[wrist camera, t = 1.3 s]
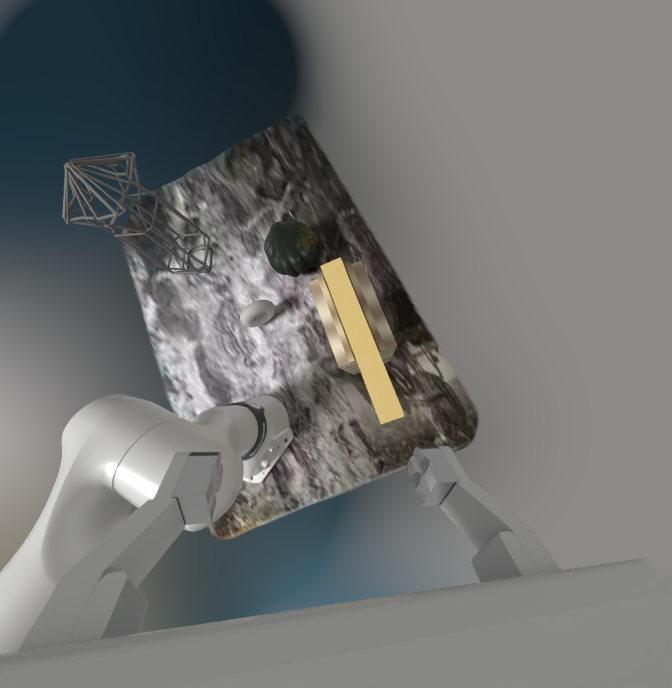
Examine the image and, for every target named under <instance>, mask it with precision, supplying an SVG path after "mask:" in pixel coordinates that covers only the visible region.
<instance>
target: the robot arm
mask: <svg viewBox="0 0 672 688" xmlns="http://www.w3.org/2000/svg"><path fill="white" fill-rule="evenodd" d="M293 438H294V434H293V431H292V429H291V428H290V425H289V418H288V413H287V411H286V408H285V407H284V405H283V404H282V403H281V402H280V401H279V400H278V399H276V398H275V397H272V396H269V395H260V396H257V397H254V398H252V399H251V400H249V401H246V402H237V403H232V404H228V405H226V406H222V407H214V408H209V409H207V410H205V411H203V412H202V413H200V414H199V415H198V416H197V417H196V418H195V419H194V420H193V421H192V422H191V421H188V420H186V419H184V418H181V417H179V416H177V415H175V414H173V413H171V412H169V411H167V410H166V409H164V408H162V407H160V406H158V405H156V404H154V403H152V402H150V401H147V400H143V399H139V398H135V397H130V396H126V395H110V396H106V397H103V398H100V399H98V400H95V401H94V402H92V403H90V404H88V405H87V406H85V407H84V408H82V409H81V410H80V411H79V412H78V413H77V414H76V415H74V417H73V418H72V419H71V420H70V421H69V423H68V424H67V426H66V427H65V430H64V432H63V435H62V450H63V452H62V462H61V467H60V471H59V474H58V477H57V480H56V483H55V486H54V488H53V490H52V493H51V495H50V497H49V499H48V502H47V504H46V506H45V508H44V510H43V512H42V514H41V516H40V518H39V519H38V521H37V523H36V525H35V526H34V528H33V530H32V531H31V533H30V534H29V536H28V537H27V539H26V540H25V542H24V544H23V545H22V546H21V548H20V549H19V550H18V551H17V553H16V554H15V555H14V556H13V558H12V559H11V560H10V561H9V563H8V564H7V566H5V568H4V569H3V570H2V571H1V573H0V688H672V574H671V573H670V572H668V571H667V570H665V569H663V568H661V567H660V566H658V565H656V564H654V563H652V562H650V561H647V560H644V559H633V560H627V561H620V562H614V563H607V564H601V565H594V566H587V567H581V568H574V569H567V570H561V569H560V568H559V566H558V565H557V563H556V562H555V561H554V559H553V558H552V556H551V555H550V553H549V552H548V550H547V549H546V548H545V546H544V545H543V543H542V542H541V541H540V539H539V537H538V536H537V535H536V533H535V532H534V530H533V529H532V528H531V527H530V526H529V525H528V524H526V523H525V522H524V521H523V520H521V519H520V518H519V517H518V516H517V515H515V514H514V513H513V512H511V511H510V510H509V509H508V508H507V507H505V506H504V505H503V504H502V503H500V502H498V500H497V499H495V498H494V497H493V496H491V495H490V494H489V493H488V492H487V491H485V490H484V489H483V488H482V487H480V486H479V485H478V484H476V483H475V482H474V481H470V479H469V478H468V476H467V474H466V472H465V471H464V469H463V467H462V466H461V464H460V463H459V461H458V459H457V458H456V456H455V454H454V453H453V451H452V449H451V448H450V447H449V446H423V447H416V448H415V449H414V451H413V453H414V455H413V456H412V457H410V459H409V461H408V472H409V476H410V479H411V480H412V481H413V482H414V483H415V484H416V489H415V491H416V494H417V496H418V499H419V501H420V504H421V506H422V507H423V506H440V508H441V509H442V510H443V511H444V512H445V514H447V516H448V517H449V518H450V519H451V520H452V521H453V522H454V524H455V525H456V526H457V527H458V528H459V529H460V530H461V531H462V532H463V534H464V535H465V536H466V537H467V538H468V539H469V540H470V541H471V542H472V544H473V545H474V546H475V547H476V548H477V549H478V550H479V552H478V553H477V554H476V555H475V556H474V557H473V558H472V561H471V562H472V565H473V567H474V569H475V571H476V573H477V576H478V578H479V580H480V583H473V584H467V585H460V586H453V587H447V588H440V589H433V590H426V591H420V592H413V593H406V594H400V595H393V596H386V597H380V598H373V599H366V600H360V601H353V602H346V603H340V604H334V605H326V606H319V607H313V608H306V609H299V610H293V611H286V612H279V613H273V614H266V615H259V616H253V617H246V618H239V619H233V620H227V621H219V622H213V623H206V624H200V625H192V626H186V627H179V628H173V629H166V630H159V631H152V632H146V633H139V634H138V632H139V628H140V625H141V623H142V620H143V617H144V614H145V611H146V608H147V605H148V603H147V601H146V599H145V598H144V596H143V595H142V594H141V592H140V591H139V590H138V588H137V586H138V585H139V584H140V583H141V581H142V580H143V579H144V578H145V576H146V575H147V574H148V573H149V571H150V570H151V569H152V567H154V565H155V564H156V563H157V562H158V560H159V559H160V558H161V557H162V555H163V554H164V553H165V552H166V550H167V549H168V548H169V547H170V545H171V544H172V543H173V542H174V540H175V539H176V538H177V537H178V535H179V534H180V533H181V532H182V530H183V529H185V530H189V531H198V530H200V529H203V528H205V527H207V526H209V525H210V524H212V523H213V522H215V521H216V520H217V519H219V518H220V517H221V516H222V515H223V514H224V513H225V512H226V511H227V510H228V509H229V508H230V506H231V505H232V504H233V502H234V501H235V499H236V497H237V495H238V493H239V491H240V488H241V485H242V481H243V480H244V481H247V482H250V483H261V482H262V481H263V480H264V479H265V478H266V476H267V475H268V474H269V472H270V471H271V469H272V468H273V467H274V465H275V464H276V462H277V461H278V460H279V458H280V457H281V455H282V454H283V453H284V451H285V450H286V448H287V447H288V445H289V444H290V443H291V441H292V440H293ZM285 439H287V441H285ZM269 465H270V466H269ZM251 477H253V479H252V478H251ZM132 504H133V505H134V506H136V507H137V508H138V509H137V510H136V511H135V512H134V513H133V514H132V515H131V516H129V515H130V510H131V507H132Z"/></svg>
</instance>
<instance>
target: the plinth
mask: <svg viewBox="0 0 672 688" xmlns="http://www.w3.org/2000/svg"><path fill="white" fill-rule="evenodd" d="M345 270H346V272H347V275H348V277H349V280H350V282H351V285H352V287H353V289H354V292H355V294H356V297H357V299H358V302H359V304H360V307H361V309H362V312H363V314H364V317H365V319H366V322H367V324H368V327H369V329H370V331H371V334H372V336H373V339H374V341H375V344H376V346H377V349H378V351H379V354H380V356H381V359H382V361H383V364H384V363H387V362H390V360H391V357H392V355H393V353H394V351H395V349H396V347H397V344H396V342H395V339H394V337H393V335H392V332H391V330H390V327H389V325H388V323H387V320H386V318H385V316H384V313H383V311H382V309H381V306H380V304H379V302H378V299H377V297H376V295H375V292H374V290H373V287H372V285H371V283H370V280H369V278H368V276H367V273H366V271H365V269H364V266H363V264H362V262H361V261H359V262H356V263H354V264H352V265H351V263H350V262H349V263H347V264H345ZM308 284H309V287H310V290H311V292H312V295H313V298H314V301H315V303H316V306H317V309H318V312H319V314H320V317H321V320H322V323H323V325H324V328H325V331H326V334H327V337H328V339H329V342H330V345H331V348H332V350H333V353H334V356H335V359H336V361H337V364H338V367H339V368H340V369H343V370H345V371H347V372H349V373H351V374H353V375H355V374H358V373H360V372H361V371H360V369H359V366H358V363H357V361H356V358H355V355H354V353H353V350H352V348H351V345H350V342H349V340H348V337H347V334H346V332H345V329H344V327H343V324H342V321H341V319H340V316H339V313H338V311H337V308H336V306H335V303H334V300H333V298H332V295H331V292H330V290H329V287H328V285H327V282H326V279H325V277H324V276H323V275H322V274H321V275H318V276H317V279H316V280H314V281H311V282H309V283H308Z"/></svg>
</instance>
